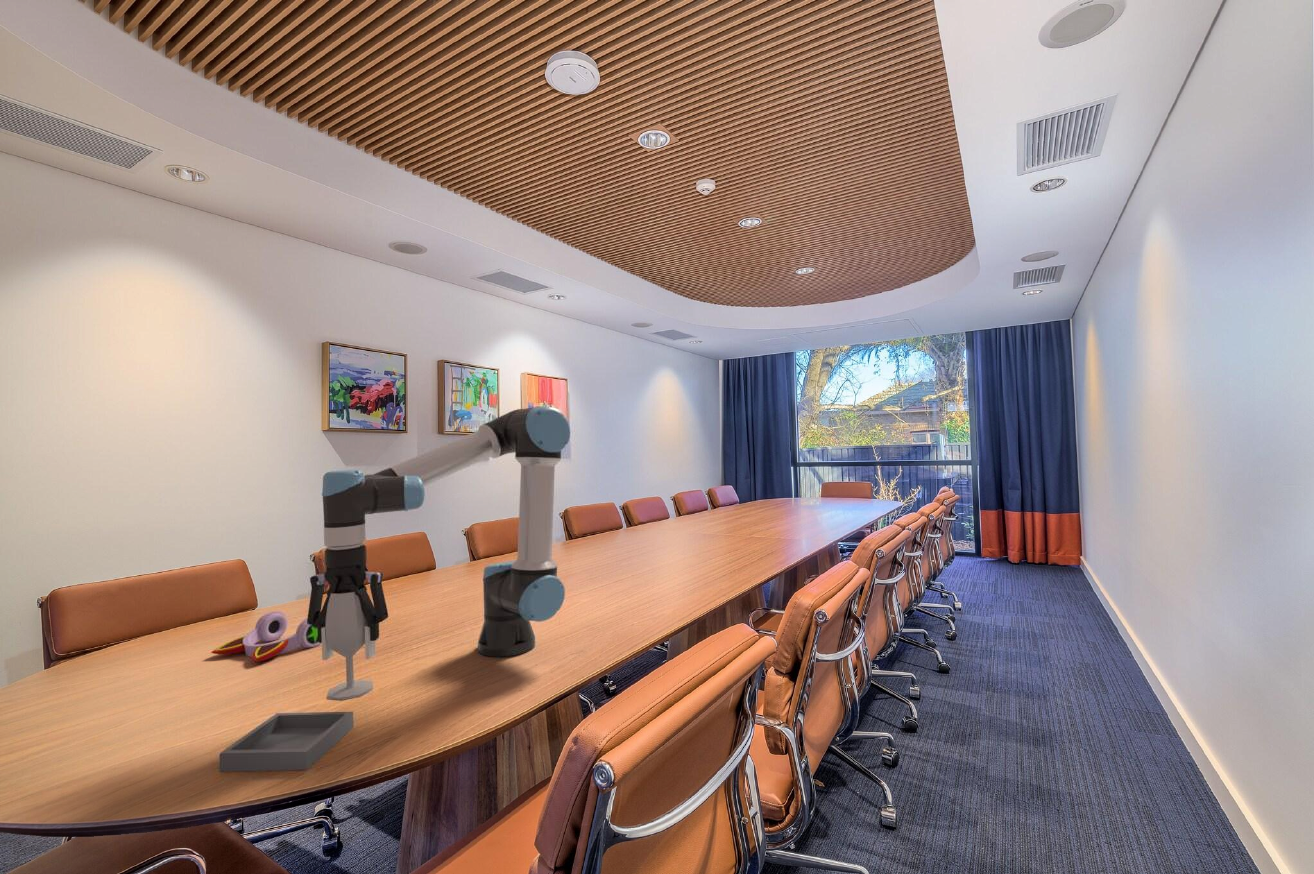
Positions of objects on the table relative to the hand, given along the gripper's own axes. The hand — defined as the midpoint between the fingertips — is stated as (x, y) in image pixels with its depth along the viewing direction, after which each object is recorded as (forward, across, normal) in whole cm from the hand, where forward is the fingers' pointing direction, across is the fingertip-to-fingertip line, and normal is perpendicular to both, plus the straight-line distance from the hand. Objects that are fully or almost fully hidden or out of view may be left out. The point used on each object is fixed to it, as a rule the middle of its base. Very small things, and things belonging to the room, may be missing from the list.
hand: (349, 656), depth 120 cm
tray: (+12, +4, +12) cm, 18 cm away
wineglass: (+8, 0, 0) cm, 8 cm away
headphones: (+13, +44, -41) cm, 62 cm away
